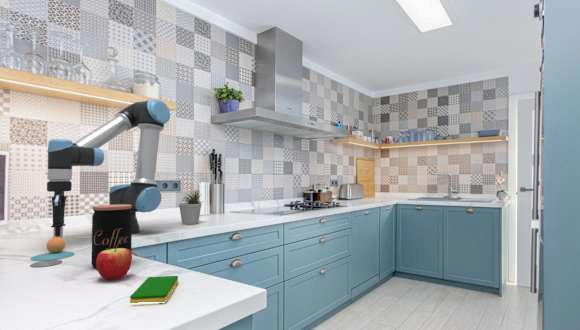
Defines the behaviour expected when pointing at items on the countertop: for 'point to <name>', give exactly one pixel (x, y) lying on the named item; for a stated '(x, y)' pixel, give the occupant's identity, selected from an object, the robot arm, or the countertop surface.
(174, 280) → the dish sponge
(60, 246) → the ball
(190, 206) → the potted plant
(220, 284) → the countertop surface
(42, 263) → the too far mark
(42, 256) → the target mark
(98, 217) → the coffee jar
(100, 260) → the apple
